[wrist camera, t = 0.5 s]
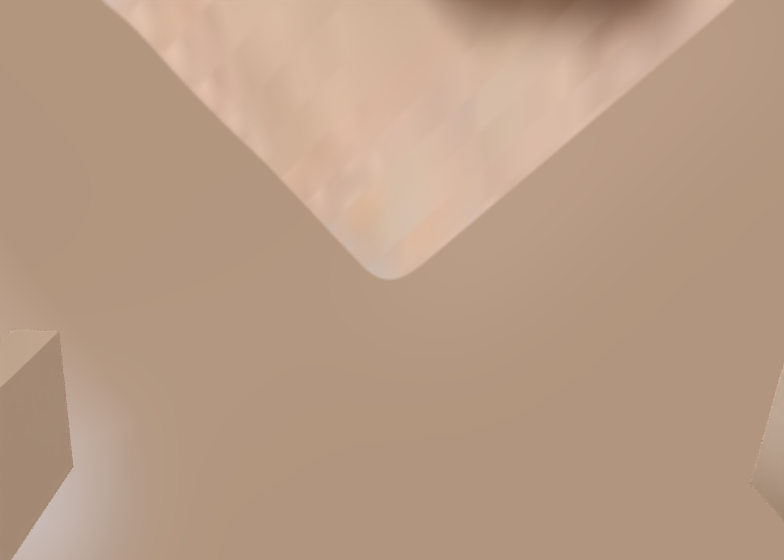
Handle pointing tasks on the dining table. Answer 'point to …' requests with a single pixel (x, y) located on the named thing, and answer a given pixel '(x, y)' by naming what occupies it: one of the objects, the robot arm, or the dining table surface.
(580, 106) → the dining table surface
